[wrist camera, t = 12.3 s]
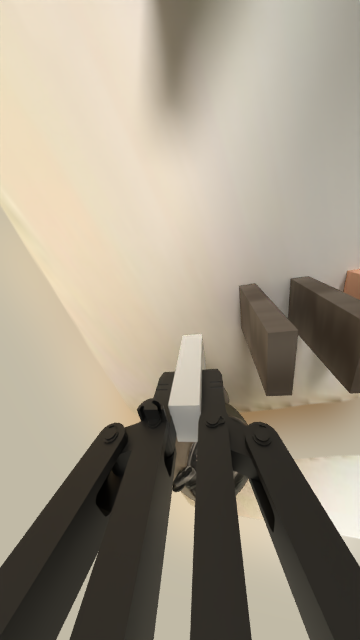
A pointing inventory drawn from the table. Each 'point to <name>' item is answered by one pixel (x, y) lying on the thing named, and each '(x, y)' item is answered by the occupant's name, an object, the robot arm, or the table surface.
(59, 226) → the table surface
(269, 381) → the domino
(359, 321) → the domino
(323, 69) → the table surface
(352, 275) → the domino
